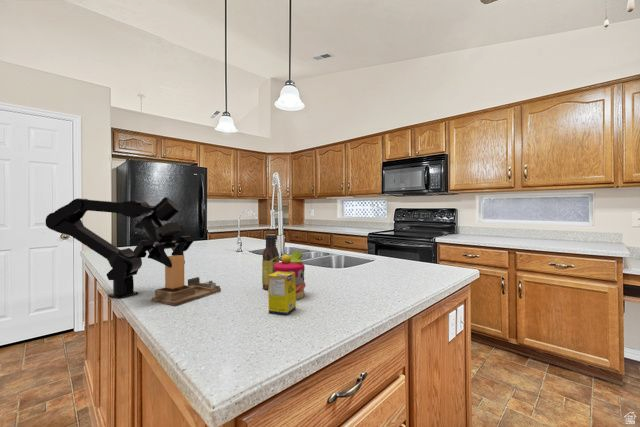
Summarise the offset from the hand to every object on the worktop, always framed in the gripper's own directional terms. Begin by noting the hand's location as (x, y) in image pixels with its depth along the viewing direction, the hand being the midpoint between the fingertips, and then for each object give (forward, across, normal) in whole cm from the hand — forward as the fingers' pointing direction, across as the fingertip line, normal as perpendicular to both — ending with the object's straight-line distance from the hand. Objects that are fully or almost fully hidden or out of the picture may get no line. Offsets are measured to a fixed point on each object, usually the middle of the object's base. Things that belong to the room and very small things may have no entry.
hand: (177, 265), depth 98 cm
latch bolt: (+9, +11, +5) cm, 15 cm away
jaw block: (+4, 0, +6) cm, 7 cm away
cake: (+30, +19, -14) cm, 38 cm away
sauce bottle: (+21, +25, -5) cm, 33 cm away
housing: (+8, +4, +8) cm, 12 cm away
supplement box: (+34, +6, -18) cm, 39 cm away
